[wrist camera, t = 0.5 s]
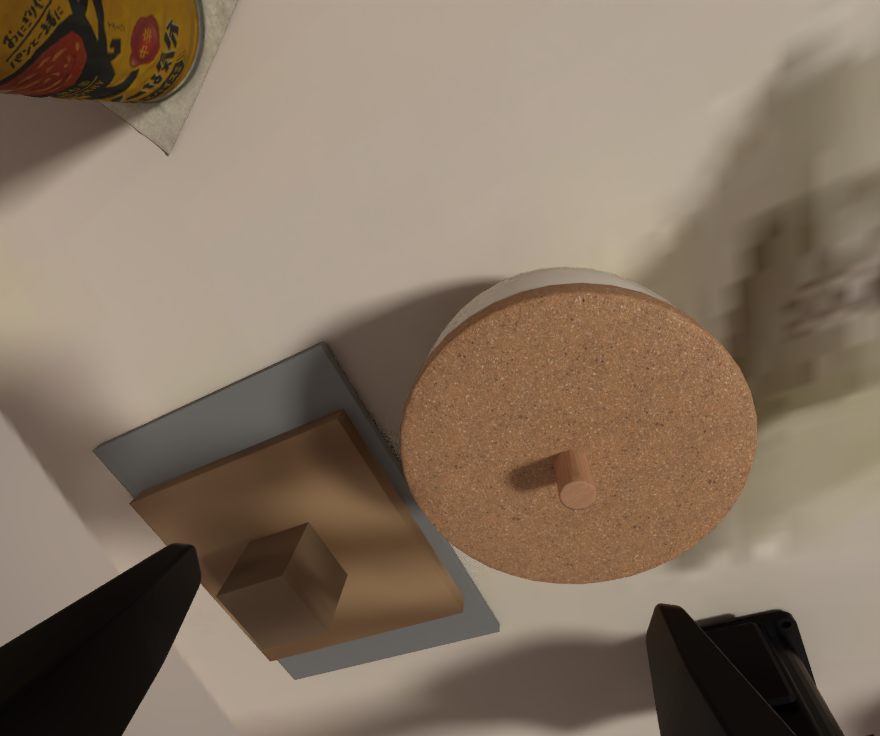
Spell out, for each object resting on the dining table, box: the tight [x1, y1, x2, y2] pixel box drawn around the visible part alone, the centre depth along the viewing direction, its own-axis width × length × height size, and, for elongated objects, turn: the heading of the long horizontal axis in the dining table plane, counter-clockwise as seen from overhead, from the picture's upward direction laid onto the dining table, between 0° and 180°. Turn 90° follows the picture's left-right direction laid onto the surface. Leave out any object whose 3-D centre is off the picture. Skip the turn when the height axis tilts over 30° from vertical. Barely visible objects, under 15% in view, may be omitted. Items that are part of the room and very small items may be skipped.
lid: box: [129, 409, 464, 661], centre depth 26 cm, size 14×14×4 cm
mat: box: [93, 342, 499, 680], centre depth 28 cm, size 20×15×1 cm
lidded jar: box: [400, 267, 757, 584], centre depth 18 cm, size 11×11×9 cm
